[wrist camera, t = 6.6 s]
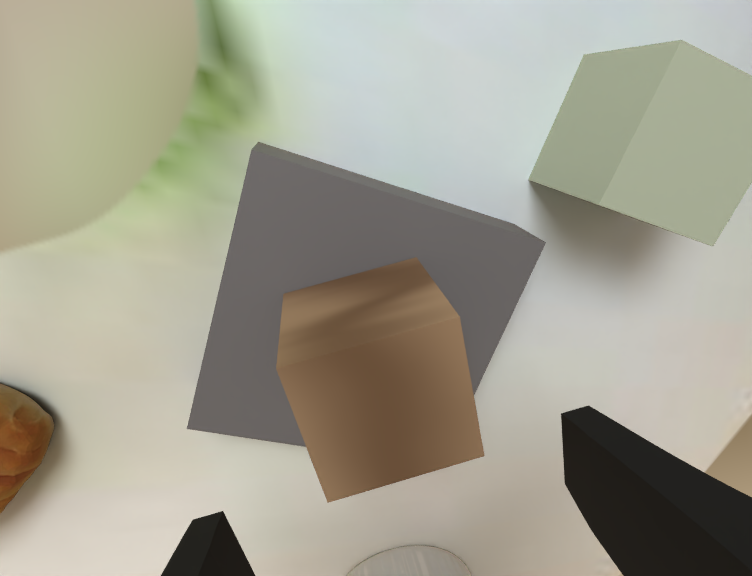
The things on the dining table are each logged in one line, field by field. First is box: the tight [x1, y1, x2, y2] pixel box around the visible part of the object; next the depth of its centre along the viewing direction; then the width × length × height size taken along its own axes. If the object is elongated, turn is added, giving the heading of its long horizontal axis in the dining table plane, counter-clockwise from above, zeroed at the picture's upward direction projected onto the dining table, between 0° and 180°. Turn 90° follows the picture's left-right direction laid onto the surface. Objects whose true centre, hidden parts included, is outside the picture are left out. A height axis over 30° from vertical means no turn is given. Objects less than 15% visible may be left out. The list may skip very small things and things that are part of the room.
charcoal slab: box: [187, 142, 546, 447], centre depth 17 cm, size 10×10×3 cm
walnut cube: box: [276, 257, 484, 502], centre depth 14 cm, size 4×4×4 cm
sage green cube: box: [528, 40, 752, 246], centre depth 15 cm, size 4×4×4 cm
